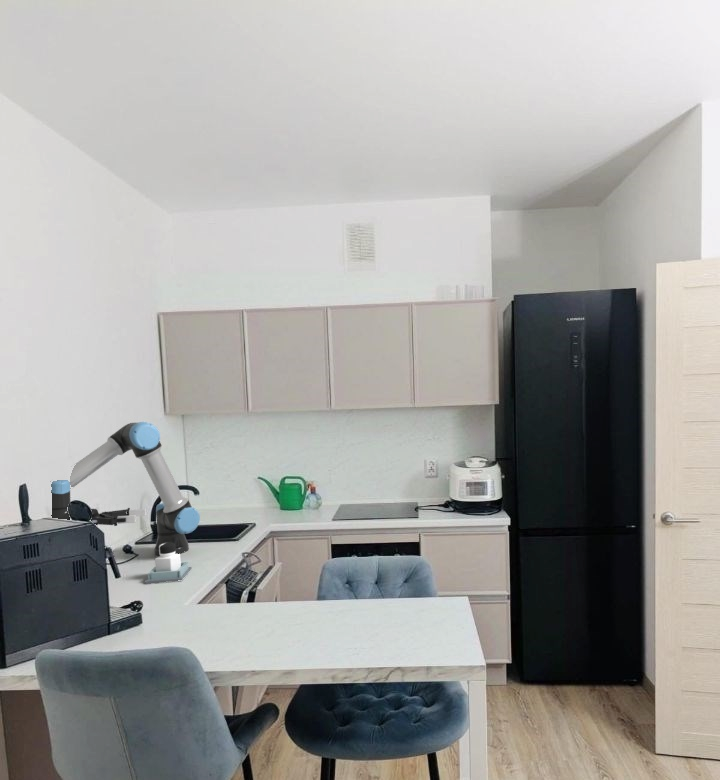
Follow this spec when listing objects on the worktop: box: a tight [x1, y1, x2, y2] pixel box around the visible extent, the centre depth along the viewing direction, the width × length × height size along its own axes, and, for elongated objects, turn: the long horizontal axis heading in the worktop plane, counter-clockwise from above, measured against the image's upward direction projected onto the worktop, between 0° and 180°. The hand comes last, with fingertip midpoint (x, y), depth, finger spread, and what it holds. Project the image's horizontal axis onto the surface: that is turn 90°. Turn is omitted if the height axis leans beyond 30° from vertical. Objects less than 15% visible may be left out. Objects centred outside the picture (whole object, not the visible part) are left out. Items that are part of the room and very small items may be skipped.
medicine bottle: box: [154, 543, 182, 572], centre depth 235 cm, size 7×7×12 cm
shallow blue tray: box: [144, 561, 192, 585], centre depth 235 cm, size 16×14×4 cm
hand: (140, 515), depth 235 cm, fingers open, 13 cm apart
